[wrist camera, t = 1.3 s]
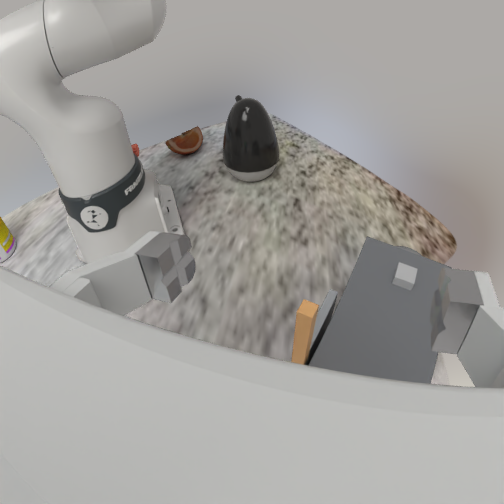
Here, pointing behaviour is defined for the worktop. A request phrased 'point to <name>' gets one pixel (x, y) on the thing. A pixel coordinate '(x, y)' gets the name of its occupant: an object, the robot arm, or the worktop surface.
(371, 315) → the gray box with nub
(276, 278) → the worktop surface
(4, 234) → the supplement bottle
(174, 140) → the fruit slice
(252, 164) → the black glossy egg shape
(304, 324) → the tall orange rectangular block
